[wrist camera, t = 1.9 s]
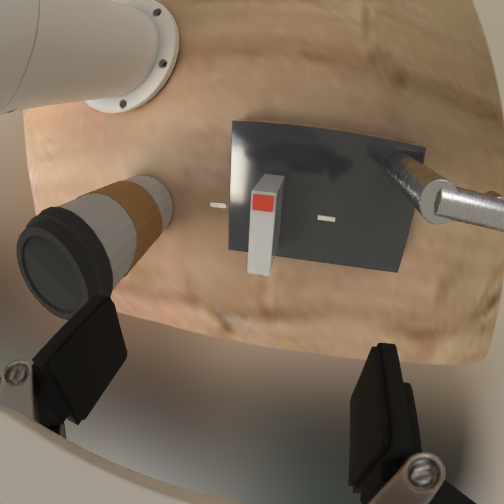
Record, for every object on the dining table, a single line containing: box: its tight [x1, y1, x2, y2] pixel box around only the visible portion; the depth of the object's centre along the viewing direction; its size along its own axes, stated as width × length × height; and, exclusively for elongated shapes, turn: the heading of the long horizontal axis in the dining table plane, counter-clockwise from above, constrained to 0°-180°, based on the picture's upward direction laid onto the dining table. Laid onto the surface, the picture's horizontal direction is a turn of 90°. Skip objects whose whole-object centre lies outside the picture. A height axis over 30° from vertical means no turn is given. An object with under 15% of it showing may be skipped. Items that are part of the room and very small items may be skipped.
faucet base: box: [210, 119, 426, 273], centre depth 25 cm, size 17×11×4 cm, turn 87°
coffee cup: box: [17, 175, 173, 320], centre depth 24 cm, size 8×8×15 cm
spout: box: [384, 152, 504, 232], centre depth 17 cm, size 7×2×9 cm, turn 87°
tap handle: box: [247, 174, 285, 276], centre depth 23 cm, size 6×2×5 cm, turn 177°
